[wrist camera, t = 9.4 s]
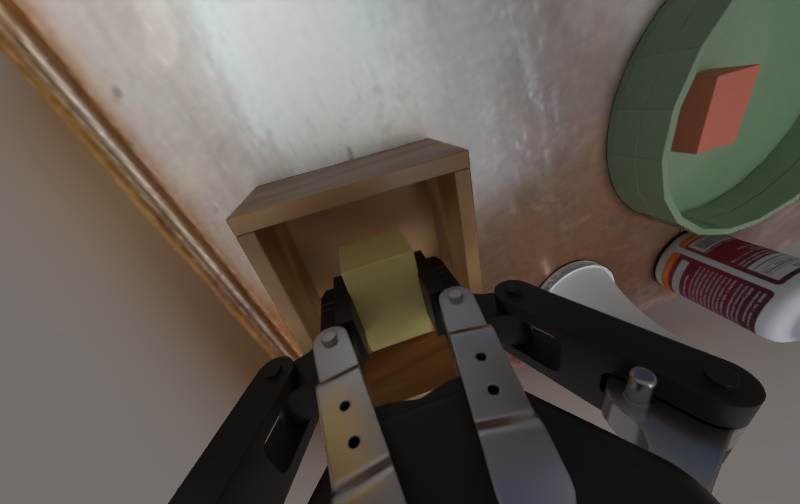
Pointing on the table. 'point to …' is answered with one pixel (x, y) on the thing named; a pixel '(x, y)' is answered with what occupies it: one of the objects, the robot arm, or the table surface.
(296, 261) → the holder
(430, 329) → the yellow block
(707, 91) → the red block
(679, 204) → the bowl
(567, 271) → the vase
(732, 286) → the pill bottle
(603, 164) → the table surface
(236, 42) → the table surface
